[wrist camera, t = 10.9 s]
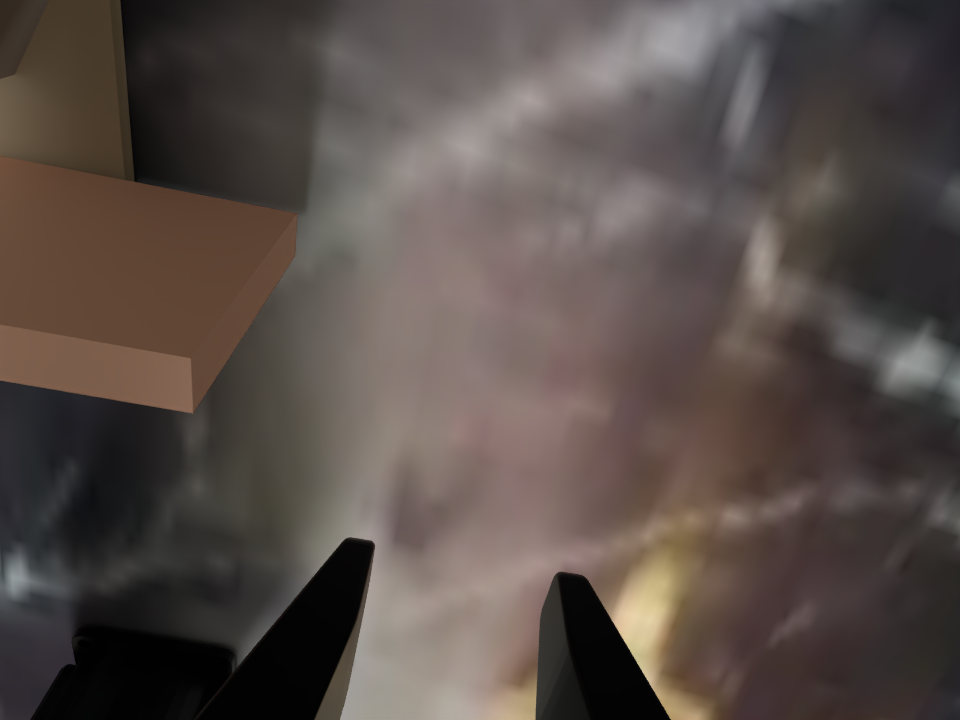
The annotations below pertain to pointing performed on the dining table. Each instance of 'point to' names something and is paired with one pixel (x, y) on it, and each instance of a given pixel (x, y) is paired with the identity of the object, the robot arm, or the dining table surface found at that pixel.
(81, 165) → the dock
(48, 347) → the block
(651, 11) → the dining table surface
